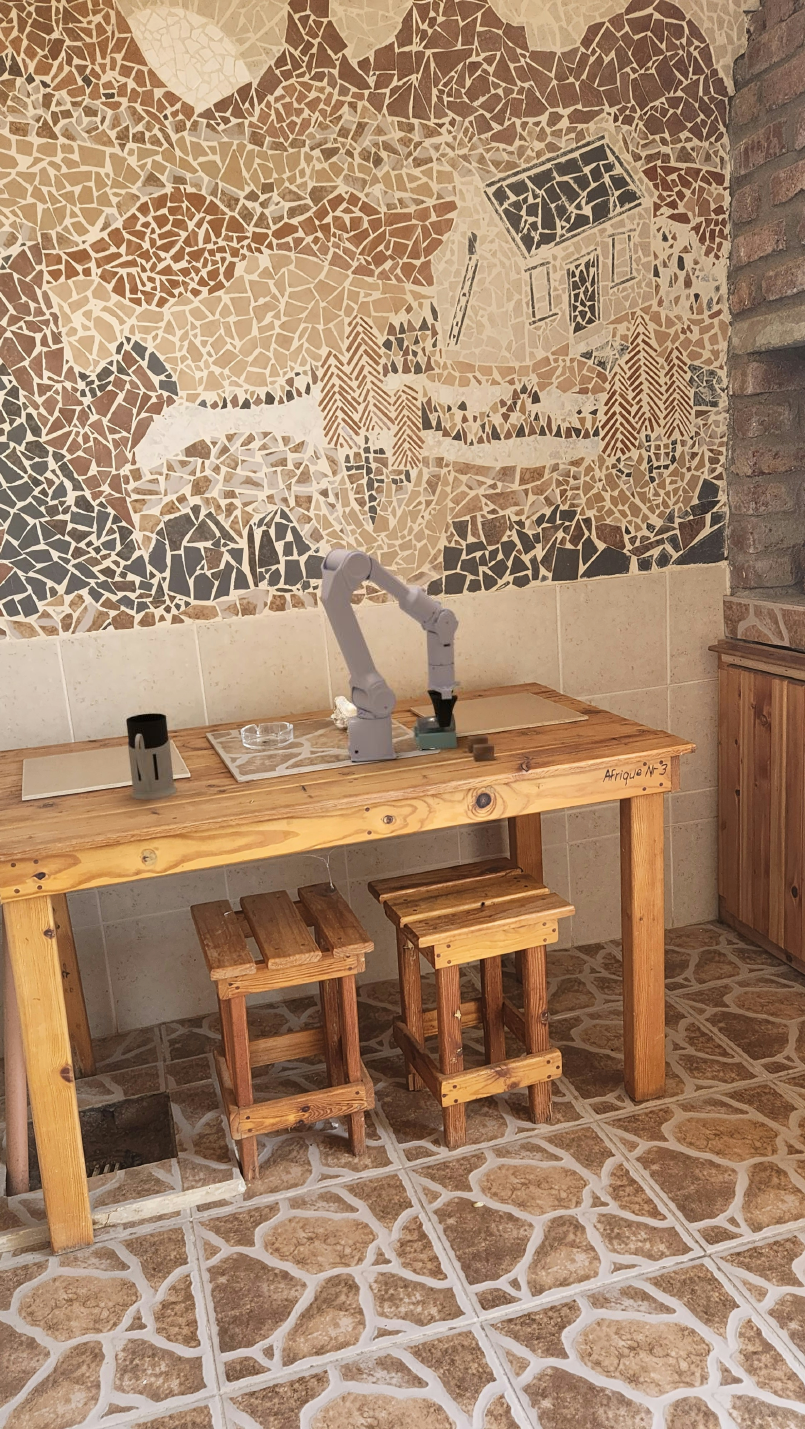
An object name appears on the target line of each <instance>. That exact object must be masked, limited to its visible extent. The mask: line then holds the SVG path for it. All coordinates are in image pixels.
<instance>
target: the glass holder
mask: <svg viewBox="0 0 805 1429" xmlns="http://www.w3.org/2000/svg"><path fill="white" fill-rule="evenodd" d="M125 722H126V731H127V739H128V742H127V748H128V757H129V758H128V759H129V766H130V775H131V783H132V791H131V794H130V796H131V797H132V798H133V799H135V800H136V799H137V800H146V801H147V800H149V801H150V800H159V799H164V798H167V797H169V796H172V795H174V794H176V793H177V792H178V790H177V787H176V786H175V783H174V770H173V762H172V751H171V743H170V737H169V733H168V722H167V715H166V714H164V713H155V712H154V713H151V712H150V713H143V714H136V715H132V716H130V717H129V716H128V718H126V720H125Z"/></svg>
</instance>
